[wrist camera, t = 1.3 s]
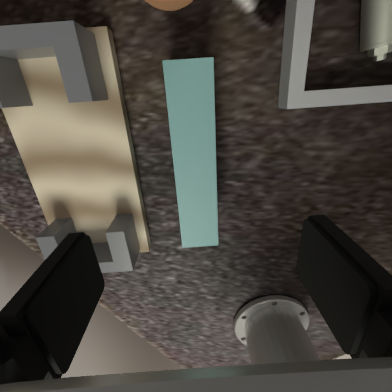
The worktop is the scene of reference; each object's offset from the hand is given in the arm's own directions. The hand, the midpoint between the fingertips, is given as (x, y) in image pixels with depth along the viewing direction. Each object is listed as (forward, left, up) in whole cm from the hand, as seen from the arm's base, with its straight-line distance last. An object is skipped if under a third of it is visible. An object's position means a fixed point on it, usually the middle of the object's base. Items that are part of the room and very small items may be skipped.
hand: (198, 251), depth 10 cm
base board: (0, +13, -18) cm, 22 cm away
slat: (0, 0, -18) cm, 18 cm away
